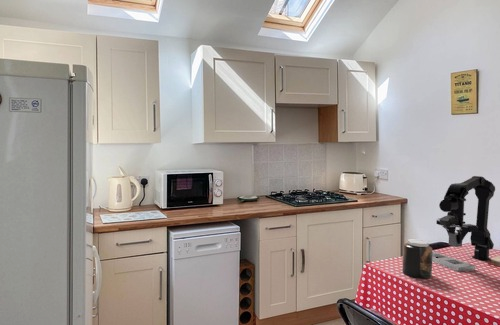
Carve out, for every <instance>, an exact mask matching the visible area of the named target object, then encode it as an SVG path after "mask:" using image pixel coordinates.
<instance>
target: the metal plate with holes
mask: <svg viewBox="0 0 500 325" xmlns="http://www.w3.org/2000/svg"><path fill="white" fill-rule="evenodd" d="M432 253H433V254H432V261H433V262H432V263H434V264H435V263H436V264H437V263H438V265H439V266H443V267H445V268H448V269H451V270H453V271H456V272H460V273H462V272H467V271H468V272H469V271H475V270H476V265H474V264H471V263H468V262H467V261H463V260H460V259H457V258H454V257H451V256H448V255H446V254H442V253H440V252H437V251H433V250H432ZM436 257H438V258H436Z"/></svg>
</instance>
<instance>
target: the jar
mask: <svg viewBox="0 0 500 325" xmlns="http://www.w3.org/2000/svg"><path fill="white" fill-rule="evenodd" d="M432 252H433V247H432V246H430V244H429V241H427V240H424V239H420V238H419V239H418V238H408V239H407V242H406V243H404V244H403V253H402V254H403V255H402V273H403V274H404V275H406V277H409V278H410V277H411V278H414V279H419V280H420V279H421V280H428V279H431V278H432V273H433V272H432V271H433V262H432V254H433V253H432Z"/></svg>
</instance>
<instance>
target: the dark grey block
mask: <svg viewBox="0 0 500 325" xmlns="http://www.w3.org/2000/svg"><path fill="white" fill-rule="evenodd" d="M448 246H451V247H454V248H458V247H460V248H461V247H462V246H463V241H462V242H461V244H458V232H457V231H455V232H451V233H449V235H448Z"/></svg>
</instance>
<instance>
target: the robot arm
mask: <svg viewBox="0 0 500 325" xmlns="http://www.w3.org/2000/svg"><path fill="white" fill-rule="evenodd" d="M473 189H474V194H475V196H476V198H477V208H476V210H477V211H476V223H475V224H471V223H466V221H464V216H466V213H465V212H464V211H465V202H467V199H466V196H467V195H468V194H469V191H471V190H473ZM495 191H496V186H495V185H494V183H493V182H491V181H490V180H487V179H486V178H485V177H483V176H480V175H479V176H477V175H474V176H471V177H470V178H468V179H466V180H464V181H462V182H458V183H456V182H455V183H451V184H450V185H449V187H448V188H447V190H446V192H445V194H444V197H443V200H441V201H440V202H439V209H440V210H441V211H442V212H444V213H447V215H444V216H442V217H441V218H437V219H436V225H439V226H441V227H442V228H444V229H445V230H446V232H447V235H448V236H449V233H451V232H456V233H458V244H461V242H462V243H463V240H465V237H466V236H467V235H468V233H471V234H470V238H469V239H470V243H471V244H470V245H471V246H472V247H473V246H474V251H473V252H474V253H473V255H471V257H472V258H473V259H476V260H479V261H482V262H483V261H491V260H490V259H492V258H491V257H490V250H493V249H494V245H495V244H494V242H493V240H492V238H491V233H490V231H489V229H488V220H489V208H490V200H491V199H492V198H493V197H494V195H495ZM456 228H459V229H456Z"/></svg>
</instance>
